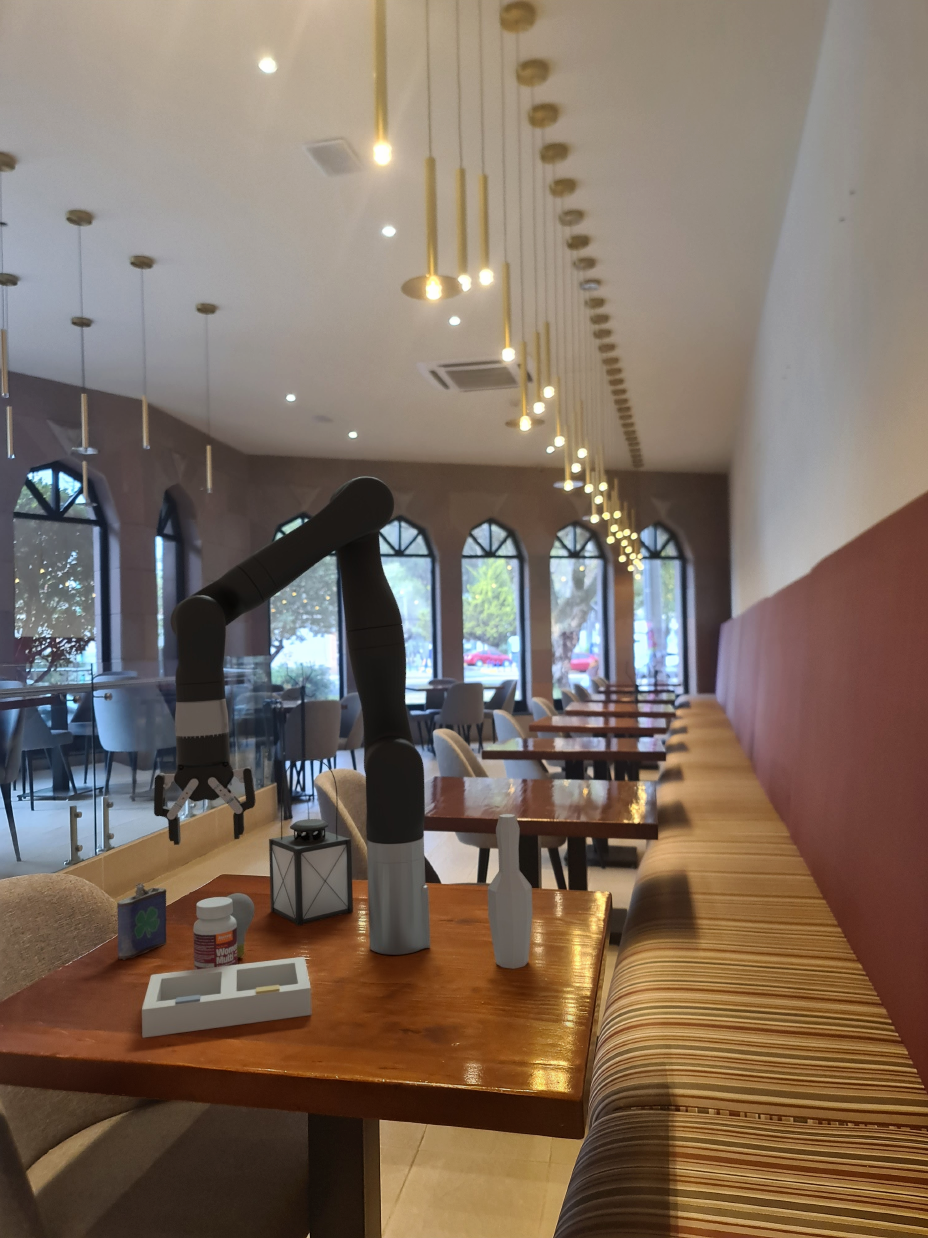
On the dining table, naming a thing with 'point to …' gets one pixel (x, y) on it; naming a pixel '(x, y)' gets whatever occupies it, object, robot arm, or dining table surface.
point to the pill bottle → (215, 934)
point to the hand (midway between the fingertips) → (207, 841)
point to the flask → (141, 922)
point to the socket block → (226, 996)
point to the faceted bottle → (510, 900)
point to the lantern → (310, 871)
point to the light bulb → (241, 918)
